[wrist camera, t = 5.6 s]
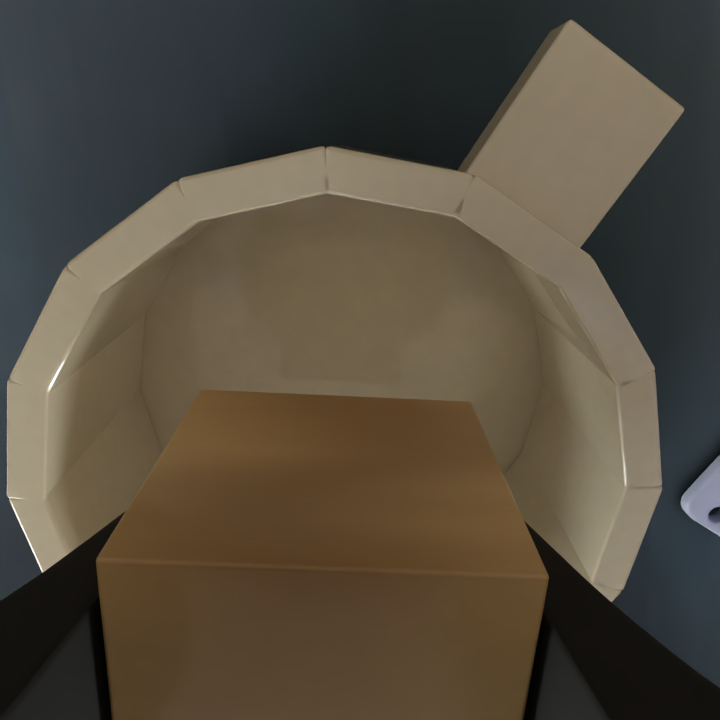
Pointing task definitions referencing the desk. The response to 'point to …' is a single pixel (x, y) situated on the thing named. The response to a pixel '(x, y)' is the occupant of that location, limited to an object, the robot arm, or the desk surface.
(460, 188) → the pot
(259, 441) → the block
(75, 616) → the robot arm
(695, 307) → the desk surface
